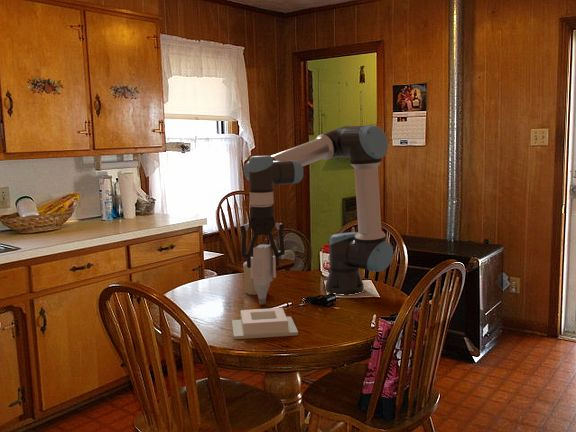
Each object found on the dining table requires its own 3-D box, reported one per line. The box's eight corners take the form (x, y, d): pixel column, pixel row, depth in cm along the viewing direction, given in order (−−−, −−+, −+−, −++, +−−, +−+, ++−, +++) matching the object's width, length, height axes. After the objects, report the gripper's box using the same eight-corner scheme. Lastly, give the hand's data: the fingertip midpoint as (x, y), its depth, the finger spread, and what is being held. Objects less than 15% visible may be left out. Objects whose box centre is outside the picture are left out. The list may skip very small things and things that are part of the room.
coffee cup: (271, 292, 232) (271, 262, 231) (251, 296, 227) (250, 266, 225) (259, 287, 240) (258, 259, 238) (239, 291, 235) (238, 262, 233)
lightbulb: (268, 307, 212) (267, 277, 211) (252, 306, 214) (251, 277, 212) (272, 302, 218) (271, 273, 217) (256, 302, 220) (255, 273, 218)
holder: (291, 319, 198) (290, 306, 198) (298, 335, 183) (298, 321, 182) (231, 322, 196) (231, 309, 195) (233, 339, 180) (233, 325, 179)
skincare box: (260, 280, 191) (259, 243, 189) (273, 281, 189) (272, 244, 187) (253, 285, 185) (251, 247, 183) (266, 286, 183) (264, 248, 182)
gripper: (290, 203, 189) (291, 273, 192) (230, 204, 186) (232, 275, 189) (293, 205, 181) (294, 278, 184) (231, 207, 179) (233, 281, 182)
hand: (263, 277), depth 187 cm, fingers closed on skincare box, 6 cm apart
